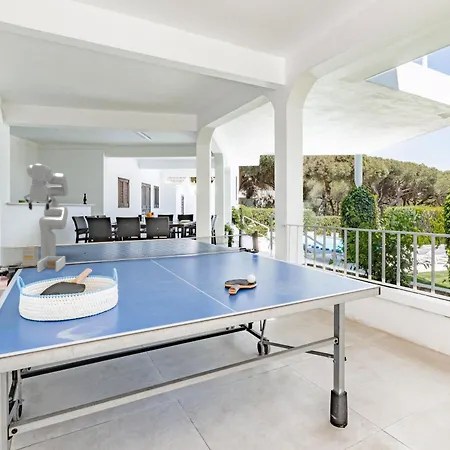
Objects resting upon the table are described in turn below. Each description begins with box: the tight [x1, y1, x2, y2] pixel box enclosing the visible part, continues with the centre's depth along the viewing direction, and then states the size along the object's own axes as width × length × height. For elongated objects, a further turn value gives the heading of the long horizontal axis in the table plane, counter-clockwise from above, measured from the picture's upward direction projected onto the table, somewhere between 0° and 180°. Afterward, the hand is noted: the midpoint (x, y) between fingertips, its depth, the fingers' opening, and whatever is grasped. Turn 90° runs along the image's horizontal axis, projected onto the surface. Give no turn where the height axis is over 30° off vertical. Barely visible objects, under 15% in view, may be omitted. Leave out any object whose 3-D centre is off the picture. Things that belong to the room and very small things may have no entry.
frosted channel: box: [36, 255, 66, 274], centre depth 216 cm, size 24×11×6 cm, turn 15°
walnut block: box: [46, 260, 58, 270], centre depth 217 cm, size 5×5×5 cm
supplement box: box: [21, 245, 39, 267], centre depth 222 cm, size 8×5×13 cm, turn 84°
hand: (39, 209), depth 223 cm, fingers open, 9 cm apart
